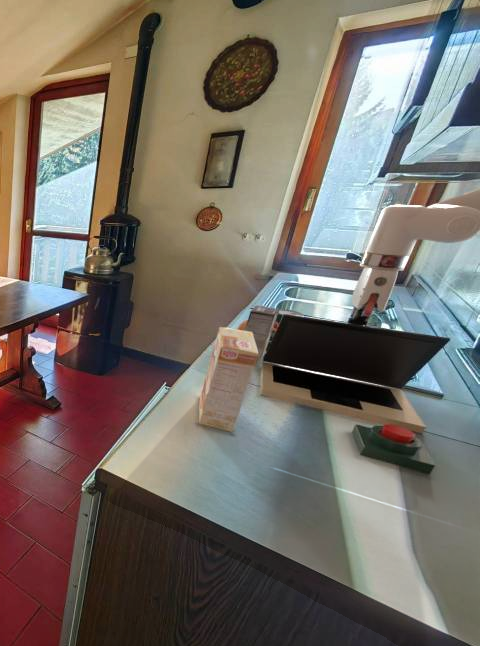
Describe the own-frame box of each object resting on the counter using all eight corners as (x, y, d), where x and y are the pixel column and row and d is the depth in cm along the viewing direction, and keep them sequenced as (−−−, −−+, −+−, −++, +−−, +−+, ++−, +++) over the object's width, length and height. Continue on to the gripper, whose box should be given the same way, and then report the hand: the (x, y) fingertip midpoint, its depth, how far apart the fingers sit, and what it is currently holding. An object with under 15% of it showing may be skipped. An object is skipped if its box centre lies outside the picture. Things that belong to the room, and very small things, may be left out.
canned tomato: (267, 344, 136) (277, 314, 131) (262, 336, 142) (272, 307, 138) (294, 347, 133) (306, 317, 128) (289, 340, 139) (299, 310, 135)
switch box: (414, 448, 82) (423, 432, 81) (429, 474, 75) (440, 458, 73) (351, 432, 87) (358, 417, 86) (359, 455, 80) (368, 439, 78)
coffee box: (241, 350, 130) (255, 304, 124) (264, 356, 126) (280, 308, 120) (235, 359, 124) (250, 310, 117) (259, 364, 120) (276, 315, 113)
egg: (256, 344, 135) (264, 319, 132) (253, 349, 131) (262, 324, 127) (233, 339, 139) (241, 315, 136) (230, 344, 135) (238, 319, 131)
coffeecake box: (199, 396, 102) (218, 326, 94) (231, 403, 99) (254, 331, 91) (197, 424, 90) (219, 346, 82) (233, 433, 87) (260, 353, 79)
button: (407, 436, 80) (411, 428, 79) (413, 446, 77) (417, 439, 76) (378, 428, 82) (381, 421, 82) (383, 439, 79) (386, 431, 78)
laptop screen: (450, 340, 87) (450, 337, 87) (283, 315, 102) (283, 313, 103) (401, 389, 102) (401, 387, 102) (262, 361, 118) (262, 359, 118)
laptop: (422, 433, 87) (426, 426, 86) (260, 394, 103) (262, 388, 102) (397, 395, 103) (401, 389, 102) (260, 366, 119) (262, 361, 118)
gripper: (415, 268, 84) (378, 346, 91) (397, 258, 95) (366, 329, 102) (367, 264, 88) (336, 339, 95) (356, 255, 99) (329, 323, 106)
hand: (352, 334), depth 98 cm, fingers closed
